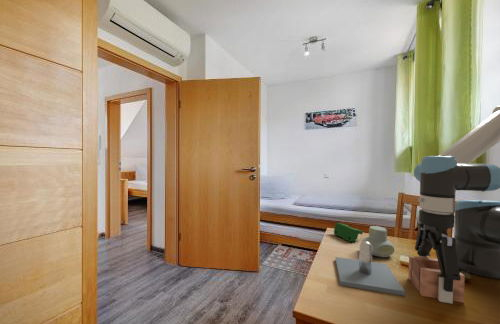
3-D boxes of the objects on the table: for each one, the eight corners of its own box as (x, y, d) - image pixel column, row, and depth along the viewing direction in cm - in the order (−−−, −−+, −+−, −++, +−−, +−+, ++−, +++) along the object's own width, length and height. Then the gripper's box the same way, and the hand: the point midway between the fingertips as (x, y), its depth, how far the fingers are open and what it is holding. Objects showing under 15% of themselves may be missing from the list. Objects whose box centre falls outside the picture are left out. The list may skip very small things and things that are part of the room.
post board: (386, 267, 74) (386, 263, 74) (404, 295, 59) (405, 291, 59) (335, 260, 78) (335, 257, 78) (340, 285, 63) (340, 281, 63)
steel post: (370, 269, 70) (370, 240, 70) (372, 275, 66) (373, 244, 66) (358, 268, 71) (358, 238, 71) (360, 273, 67) (361, 242, 67)
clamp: (356, 250, 98) (367, 234, 95) (346, 248, 96) (356, 232, 93) (340, 231, 109) (349, 217, 106) (331, 230, 107) (340, 215, 104)
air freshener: (371, 259, 80) (372, 232, 79) (357, 250, 88) (358, 225, 88) (398, 258, 81) (399, 231, 81) (381, 248, 89) (382, 224, 89)
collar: (443, 283, 65) (444, 259, 65) (463, 302, 56) (464, 275, 56) (408, 278, 67) (409, 255, 67) (422, 295, 59) (423, 269, 59)
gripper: (404, 202, 74) (401, 266, 74) (443, 221, 51) (440, 314, 52) (430, 203, 72) (428, 270, 72) (484, 224, 49) (480, 321, 50)
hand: (433, 288), depth 62 cm, fingers open, 11 cm apart
